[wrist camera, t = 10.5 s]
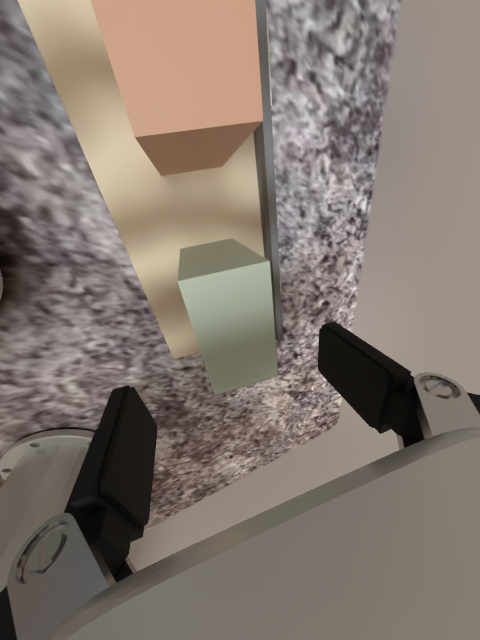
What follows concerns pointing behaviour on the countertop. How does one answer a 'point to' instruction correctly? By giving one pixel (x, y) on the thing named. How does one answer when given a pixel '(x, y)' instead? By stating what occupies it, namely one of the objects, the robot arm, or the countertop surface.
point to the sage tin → (230, 312)
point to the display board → (143, 178)
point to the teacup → (1, 284)
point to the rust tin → (185, 76)
